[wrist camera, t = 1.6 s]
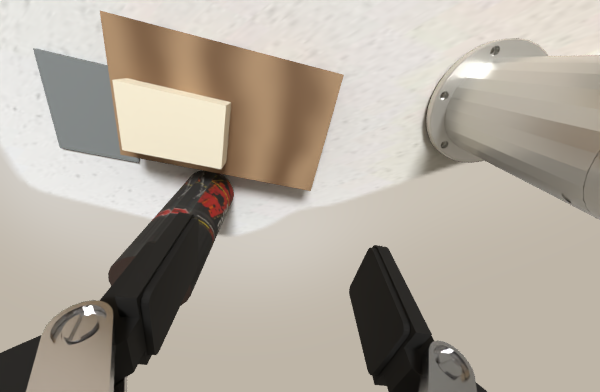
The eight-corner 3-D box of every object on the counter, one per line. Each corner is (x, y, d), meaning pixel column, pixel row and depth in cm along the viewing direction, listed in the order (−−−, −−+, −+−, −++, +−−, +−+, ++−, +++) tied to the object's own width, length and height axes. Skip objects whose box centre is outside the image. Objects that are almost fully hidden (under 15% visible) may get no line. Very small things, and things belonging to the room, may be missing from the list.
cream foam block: (231, 102, 22) (226, 105, 20) (226, 161, 25) (221, 169, 23) (127, 78, 21) (112, 79, 19) (134, 143, 24) (122, 150, 22)
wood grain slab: (336, 73, 25) (343, 74, 21) (308, 176, 30) (310, 190, 27) (130, 18, 22) (99, 10, 18) (142, 142, 28) (120, 154, 24)
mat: (130, 70, 24) (128, 71, 24) (139, 161, 29) (138, 162, 29) (36, 48, 23) (33, 48, 23) (62, 147, 28) (60, 147, 27)
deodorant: (181, 171, 30) (93, 258, 17) (228, 168, 30) (178, 253, 17) (194, 211, 32) (127, 311, 19) (237, 208, 32) (200, 307, 19)
